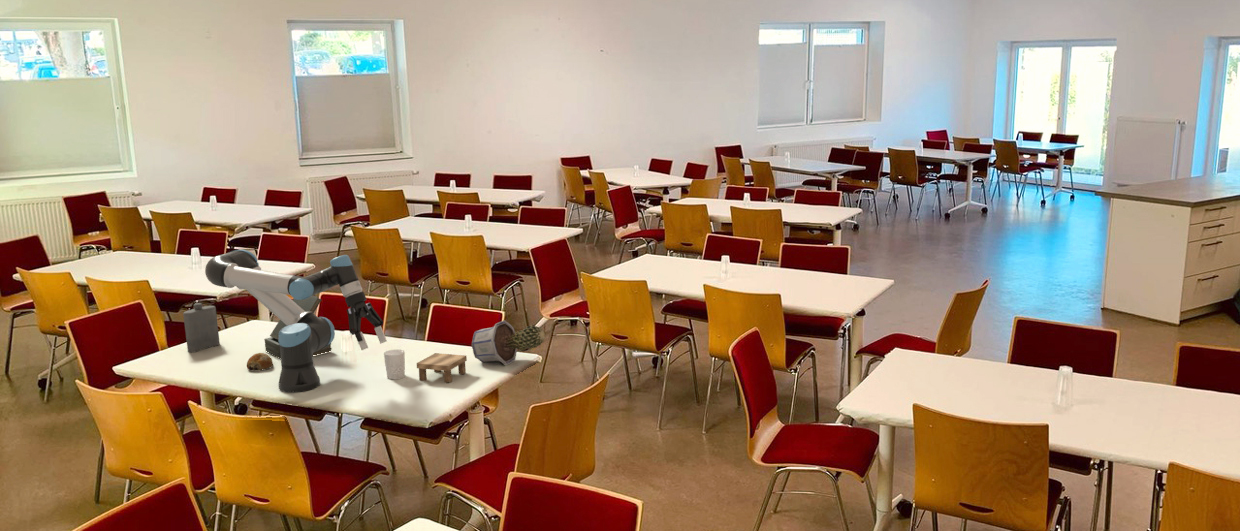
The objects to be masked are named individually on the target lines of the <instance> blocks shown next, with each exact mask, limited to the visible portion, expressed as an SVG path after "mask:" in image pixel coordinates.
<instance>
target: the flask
mask: <svg viewBox="0 0 1240 531" xmlns="http://www.w3.org/2000/svg"><path fill="white" fill-rule="evenodd" d="M182 316H183V323H184V331H185V339H186V346H187V348H186V349H187V352H189V353H196V352H199V351H201V350H205V349H207V348H208V349H209V348H212V346H213V347H216V346H219V345H220V335H219V326H218V325H219V324H218V316H217V308H216V306H215V305H206V306H205V305H204V306H203V303H201V302H197V303H196V302H195V303H194V304H193V308H192V309H188V310H186V311H184V312H183V314H182Z"/></svg>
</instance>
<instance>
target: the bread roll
mask: <svg viewBox="0 0 1240 531" xmlns="http://www.w3.org/2000/svg"><path fill="white" fill-rule="evenodd" d="M270 367H271V368H272V367H274V363H273V358H272V357H271V356H270V355H269V354H268V353H266V352H265V353H264V352H257V353H254V354H253V355H251V356H250V357H249V358H248V360H247V362H246V368H247V370H248V369H249V370H248V371H251V370H260V371H263V370H262V369H266V370H268V369H267V368H269V369H271V368H270Z"/></svg>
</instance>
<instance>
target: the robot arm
mask: <svg viewBox="0 0 1240 531" xmlns="http://www.w3.org/2000/svg"><path fill="white" fill-rule="evenodd" d="M329 263H330V266H329V267H327V268H325V269H322V270H319V271H318V272H315V273H312V274H309V275H306V276H300V275H294V274H293V275H292V274H288V273H281V272H280V273H279V272H274V271H268V270H262V267H261V266H260V265H259V262H258V258H257V256H256V255H255V254H254V253H253V252H251V251H249V250H247V249H235V250H231V251H229V252H227V253H224V254H219V255H215V256H214V257H212V258H210V260H208V261H207V264H206V265H205V269H204V270H205V271H204V275H205V276H206V278H207V280H208V282H210V283H211V284H212V285H215V286H216V287H217V286H218V287H223V288H228V289H233V288H235V287H236V288H237V289H239V290H246V291H247V292H248V293H249V294H250V295H251V296H253V298H255V299H256V300H257V301H258V302H259V303H260V304H262V305H263V306H264V307H265V308H267V309H268V310H269V311H270V312H271V313H272V314H273V315H274V316H276V317H277V318H278V320H281V321H283V322H284V323H285V324H286V325H287V326H285V327H284V328H282V329H281V330H280V331H279V339H278V342H279V347H280V357H281V359H280V364H281V365H280V366H281V370H280V374H279V380H278V390H279V389H280V390H279V391H281V392H283V391H285V393H300V392H306V391H310V390H314V389H316V388H318V387H320V385H321V378H320V376H319V375H318V372H317V370H316V367H315V365H314V356H313V353H314V352H316V351H318V350H320V349H323V348H325V347H327V346H328V345H329V344H330V343H331V344H332V342H333V341H334V339H335V335H336V332H335V331H336V330H335V326H334V324H333V322H332V321H331V320H330V318H329V319H328V318H327V317H324V316H319V317H318V316H317V315H316V314H314V313H315V312H314V313H312V312H311V311H310V312H305V311H304V310H303V309H302V308H301V307H299V306H298V305H297V304H296V303H295V302H294V301H292V300H293V299H291V298H290V297H289V296H291V297H292V298H295V299H297V300H302V299H307V298H309V297H310V296H316V295H317V294H321V293H324V292H325V291H327V290H330V289H332V288H333V287H335V286H339V288H340V291H341V293H342V296H343V297H344V298H345V299H344V300H345V303H346V306H347V307H348V308H347V309H346V313H347V317H348V328H349V329H348V330H349V333H350V334H351V335H352V336H353V335H354V336H355V339H356V341H357V343H358V345H359V347H360V350H361V351H364V350H366V349H369V345H368V342H367V341H366V339H365V335H364V334H363V332H362V331H361V325H362V324H361V323H362V319H363V318H364V319H366V320H368V321H369V323H370V324H371V325H372V326H373V327H374V331H375V334H376V337H377V339H378V342H379V344H384V343H385V342H388V339H387V338H386V335H385V333H384V330H383V328H382V326H383V325H384V320H383V319H382V318H381V317H380V316H379V314H378V312H377V311H376V310H375V309H374V307H373V305H372V303H371V302H368V303H366V301H367V296H366V294H365V292H364V291H363V287H362V285H361V282H360V279H359V277H358V275H357V273H356V270H355V266H354V263H353V262H352V260H351V258H350V256H349V255H347V254H343V255H339V256H336V257H334V258H332V259H331V260H330V261H329Z"/></svg>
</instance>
